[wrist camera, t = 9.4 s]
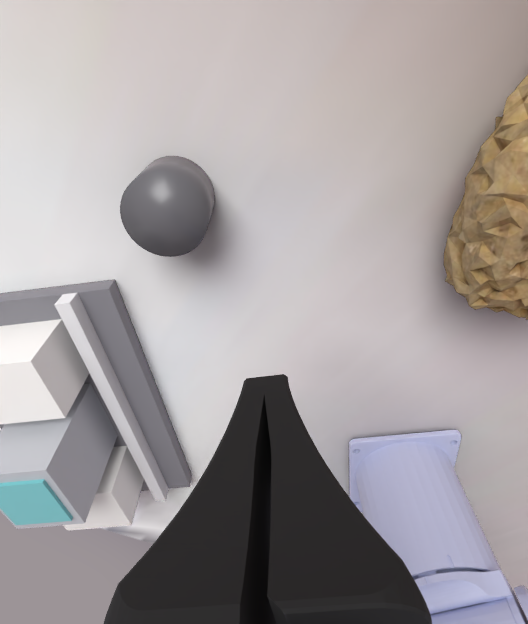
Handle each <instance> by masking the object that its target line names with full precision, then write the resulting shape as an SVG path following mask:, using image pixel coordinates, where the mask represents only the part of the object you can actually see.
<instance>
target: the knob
mask: <svg viewBox="0 0 528 624" xmlns="http://www.w3.org/2000/svg"><path fill="white" fill-rule="evenodd" d="M214 201H215V195H214V189H213V185H212V183H211V181H210V179H209V177H208V175H207V174H206V173H205V171H204V170H203V169H202V168H201V167H200V166H198V165H197V164H196V163H194V162H193V161H191V160H189V159H186V158H183V157H179V156H166V157H162V158H159V159H157V160H155V161H153V162H152V163H151V164H149V165H148V166H147V167H146V168H145V169H144V170H143V171H142V172H141V173H140V174H139V175H138V176H137V177H136V178H135V179H134V180H133V181H132V182H131V183H130V185H129V186H128V187H127V188H126V190H125V191H124V194H123V196H122V199H121V205H120V213H121V219H122V222H123V225H124V227H125V229H126V231H127V233H128V234H129V235H130V237H131V238H132V239H133V240H134V241H135V242H136V243H137V244H138V245H139V246H141V247H142V248H143V249H145V250H147V251H149V252H151V253H153V254H157V255H160V256H169V257H172V256H179V255H183V254H186V253H188V252H190V251H192V250H193V249H195V248H196V247H197V246H198V245H199V244H200V242H201V241H202V240H203V238H204V236H205V234H206V231H207V227H208V224H209V221H210V217H211V214H212V210H213V207H214Z"/></svg>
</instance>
